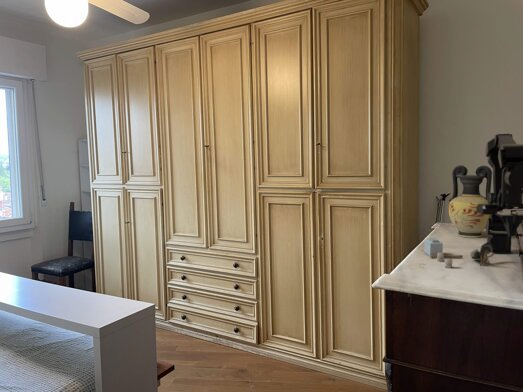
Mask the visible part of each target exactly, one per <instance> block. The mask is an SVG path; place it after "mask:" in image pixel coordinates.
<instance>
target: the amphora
mask: <svg viewBox="0 0 523 392" xmlns="http://www.w3.org/2000/svg"><path fill="white" fill-rule="evenodd" d="M451 173H452V174H451V175H452V187H453V188H452V189H453V190H452V191H453V192H452V197H451V198H450V199H449V200H448V202H450V203H449V205H448V215H449V218H450V221H451V224H452V225H453V227H455V228H456V229H457V231H458V234H457V235H458V236H459V237H463V238H470V239H471V238H472V239H473V238H475V239H477V238H482V237H483V234H482V232H483V231H484V230H486V224H487V219H488V218H489V215H485V214H481V213H478V212H476V207H477V205H478V204H493V203H488V202H487V194H488V193H492V192H491V189H492V182H493V170H492V168H491V167H489V166H487V165H480V166H478V167H476V169H475V174H468V168H467V167H466V166H464V165H462V164H459V165H457V166H455V167H454V168H453V170H452V172H451ZM458 178H459V181H460V183H461V184H462V187H463V189H462V193H461V194H460V195H459V184H458ZM484 179H486V184H485V185H486V186H485V196H483V195H481V191H480V187H481V186H480V185H481V184H482V183H483V181H484ZM458 195H459V196H458Z"/></svg>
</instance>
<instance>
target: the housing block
mask: <svg viewBox="0 0 523 392" xmlns="http://www.w3.org/2000/svg"><path fill="white" fill-rule="evenodd" d="M443 248H444V245H443V242H441V241H440V240H439V239H437V238H436V237H428V238H425V239H424V252H425V253H426V254H427V255H428V256H429V257H431V255H437V253H444V252H443V251H444V250H443Z"/></svg>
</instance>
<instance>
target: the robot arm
mask: <svg viewBox="0 0 523 392" xmlns="http://www.w3.org/2000/svg"><path fill="white" fill-rule="evenodd" d="M485 157H487V163H488V165H489V166H490V168H491V169H492V186H493V187H492V188H493V192H490V193H488V194H487V202H488V203H493V204H478V205H477V207H476V212H478V213H481V214H485V215H489V218H488V219H487V224H486V229H485V234H486V235H487V236H488V237H487V238H486V243H487V242H490V243H491V244H492V245H493V252H491V254H493V253H495V254H514V251H512V237H516V236H517V230H518V228H519V226H520V225H521V223H522V222H523V143H517V142H516V141H515V139H514V138H513V134H512V133H497V134H495V135H494V137H493V138H492V139H491V140H489V141H487V143H486V147H485Z"/></svg>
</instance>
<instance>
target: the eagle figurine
mask: <svg viewBox="0 0 523 392" xmlns="http://www.w3.org/2000/svg"><path fill="white" fill-rule="evenodd" d="M492 252H493V245H492V244H491V243H490V242H487V241H486V242H485V243H483V244H481V246H480V250H479V249H478V248H477V249H474V250H472V251H470V257H471V258H470V259H472V260H478V261H480V266H483V264H485V262H486V263H487V264H489V265H491V261H490V260H489V259H490V258H492V257H493V256H494V255H495V254H496V253H492ZM489 254H490V255H489Z"/></svg>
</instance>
